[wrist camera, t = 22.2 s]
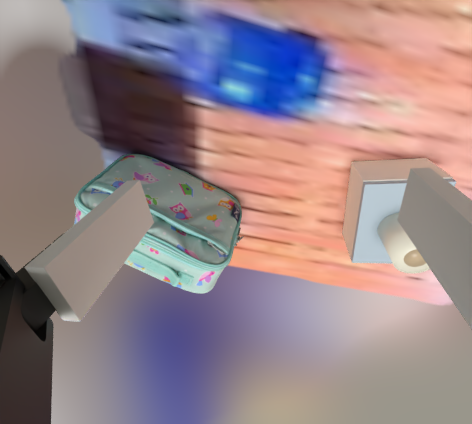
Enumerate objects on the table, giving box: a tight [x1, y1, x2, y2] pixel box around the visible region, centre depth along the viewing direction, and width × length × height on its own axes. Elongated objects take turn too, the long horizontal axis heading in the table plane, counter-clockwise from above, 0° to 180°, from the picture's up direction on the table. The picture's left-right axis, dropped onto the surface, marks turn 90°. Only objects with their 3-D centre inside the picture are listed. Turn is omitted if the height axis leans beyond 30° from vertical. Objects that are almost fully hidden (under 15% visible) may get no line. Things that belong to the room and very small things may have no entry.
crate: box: [342, 158, 453, 259], centre depth 46 cm, size 16×12×8 cm
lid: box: [351, 179, 456, 263], centre depth 42 cm, size 16×12×1 cm
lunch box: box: [74, 154, 244, 293], centre depth 45 cm, size 27×10×21 cm, turn 66°
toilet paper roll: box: [377, 213, 430, 273], centre depth 38 cm, size 6×6×7 cm
